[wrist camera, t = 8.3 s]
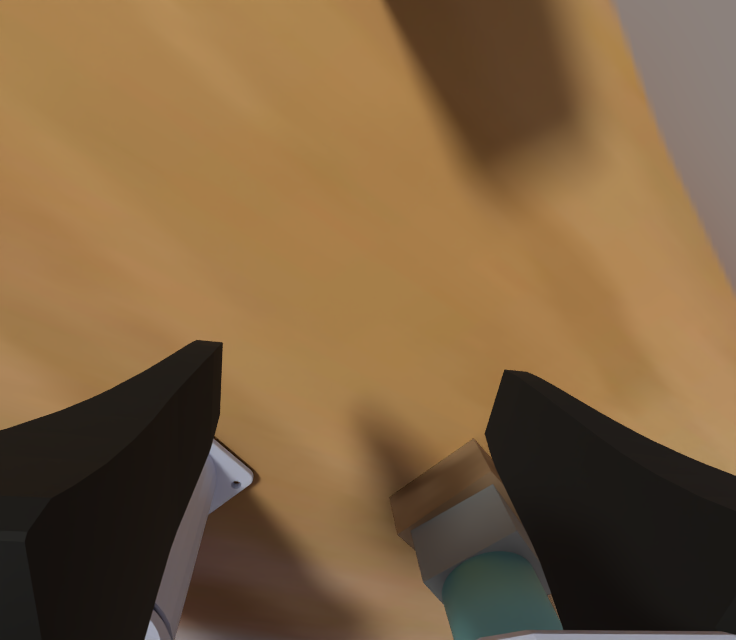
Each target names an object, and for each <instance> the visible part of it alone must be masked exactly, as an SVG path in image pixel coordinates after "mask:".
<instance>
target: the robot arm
mask: <svg viewBox="0 0 736 640" xmlns="http://www.w3.org/2000/svg"><path fill="white" fill-rule="evenodd" d="M222 348H223V343H222V342H212V341H202V340H196V341H194V342H192V343H190V344H188V345H187V346H185V347H183V348H182V349H180V350H178V351H177V352H175V353H174V354H172V355H170V356H169V357H167V358H166V359H164V360H162V361H161V362H159V363H157V364H156V365H154V366H152V367H151V368H149V369H147V370H145V371H144V372H142V373H140V374H138V375H136V376H134V377H132V378H131V379H129V380H127V381H125V382H123V383H121V384H119V385H117V386H115V387H114V388H112V389H110V390H108V391H105V392H103V393H101V394H99V395H97V396H95V397H92V398H90V399H88V400H85V401H83V402H81V403H78V404H76V405H73V406H71V407H68V408H66V409H63V410H61V411H58V412H55V413H52V414H49V415H46V416H43V417H40V418H37V419H34V420H31V421H28V422H25V423H22V424H19V425H16V426H13V427H10V428H7V429H4V430H0V640H175V636H176V633H177V629H178V625H179V622H180V618H181V614H182V610H183V607H184V603H185V599H186V596H187V592H188V588H189V584H190V581H191V577H192V573H193V570H194V566H195V562H196V559H197V555H198V551H199V547H200V544H201V540H202V536H203V533H204V529H205V525H206V522H207V518H208V515H209V514H210V513H212V512H213V511H214V510H216V509H217V508H218V507H220V506H221V505H223V504H224V503H225V502H227V501H228V500H229V499H231V498H232V497H234V496H235V495H236V494H238V493H239V492H240V491H242V490H243V489H245V488H246V487H247V486H249V485H250V484H251V483H252V481H253V476H254V475H253V472H252V471H251V470H250V469H249V468H248V467H247V466H245V465H244V464H243V463H242V462H241V461H240V460H238V459H237V458H236V457H235V456H234V455H232V454H231V453H230V452H229V451H228V450H226V449H225V448H224V447H223V446H222V445H221V444H219V443H218V442H217V441H216V440H215V439H214V435H215V431H216V427H217V423H218V420H219V416H220V398H221V373H222ZM485 436H486V440H487V443H488V447H489V450H490V453H491V456H492V459H493V462H494V465H495V468H496V470H497V472H498V475H499V477H500V479H501V481H502V483H503V485H504V487H505V489H506V492H507V494H508V496H509V498H510V500H511V502H512V504H513V506H514V508H515V510H516V512H517V514H518V516H519V518H520V520H521V522H522V524H523V526H524V528H525V531H526V533H527V535H528V537H529V539H530V541H531V543H532V545H533V547H534V550H535V552H536V554H537V557H538V559H539V561H540V564H541V567H542V569H543V572H544V575H545V578H546V580H547V583H548V586H549V589H550V591H551V594H552V597H553V600H554V603H555V606H556V609H557V612H558V615H559V618H560V621H561V624H562V627H563V630H523V631H517V632H511V633H505V634H499V635H493V636H487V637H481V638H479V639H477V640H736V476H735V475H732V474H729V473H727V472H724V471H722V470H719V469H717V468H714V467H711V466H709V465H706V464H704V463H701V462H699V461H697V460H694V459H692V458H689V457H687V456H685V455H683V454H680V453H678V452H676V451H674V450H672V449H670V448H667V447H665V446H663V445H661V444H659V443H657V442H654V441H652V440H650V439H648V438H646V437H644V436H642V435H640V434H638V433H637V432H635V431H633V430H631V429H629V428H627V427H625V426H623V425H622V424H620V423H618V422H616V421H614V420H612V419H611V418H609V417H607V416H605V415H604V414H602V413H600V412H598V411H597V410H595V409H593V408H591V407H590V406H588V405H586V404H585V403H583V402H581V401H579V400H578V399H576V398H574V397H573V396H571V395H569V394H568V393H566V392H564V391H562V390H561V389H559V388H557V387H556V386H554V385H552V384H550V383H549V382H547V381H545V380H543V379H541V378H539V377H537V376H535V375H533V374H531V373H528V372H524V371H513V370H504V373H503V376H502V379H501V383H500V386H499V389H498V392H497V396H496V399H495V402H494V405H493V409H492V412H491V415H490V418H489V422H488V425H487V428H486V431H485ZM234 481H238V482H240V483H239V484H235V483H233V482H234Z"/></svg>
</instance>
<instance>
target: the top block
mask: <svg viewBox="0 0 736 640" xmlns="http://www.w3.org/2000/svg"><path fill="white" fill-rule="evenodd" d="M411 535H412V539H413V543H414V547H415V551H416V555H417V559H418V563H419V567H420V571H421V575H422V579H423V583H424V584H425V585H426V586H427V587H428V588H429V589H430V590H431V591H432V592H433V594H434V595H435V596H436V597H437V598H438V599H439V600H440V601H441V602H442V603H443V599H442V588H443V585H444V582H445V580H446V578H447V577H448V576H449V574H450V573H451V572H452V571H453V570H454V569H455V568H456V567H457V566H458V565H460V564H461V563H463V562H464V561H466V560H468V559H470V558H472V557H474V556H477V555H480V554H483V553H487V552H494V551H505V552H512V553H515V554H518V555H520V556H522V557H524V558H525V559H526V560H528V561H529V563H530V564H531V565H532V567H533V569H534V571H535V573H536V575H537V577H538V579H539V581H540V583H541V585H542V587H543V589H544V591H545V592H546V594H547V595H549V594H551V591H550V589H549V586H548V583H547V580H546V578H545V575H544V572H543V569H542V567H541V564H540V561H539V559H538V557H537V554H536V552H535V550H534V547H533V545H532V543H531V541H530V539H529V537H528V535H527V533H526V531H525V529H524V527H523V526H522V524H521V523H520V522H519V520H518V519H517V517H516V516H515V514H514V513H513V512H512V510H511V509H510V507H509V506H508V505H507V503H506V502H505V500H504V499H503V497H502V496H501V495H500V493H499V492H498V490H497V489H496V488H495V486H494V485H493V484H492V485H490V486H488V487H487V488H485V489H483V490H481V491H480V492H478V493H476V494H474V495H473V496H471V497H469V498H467V499H466V500H464V501H462V502H460V503H459V504H457V505H455V506H453V507H452V508H450V509H448V510H446V511H445V512H443V513H441V514H439V515H438V516H436V517H434V518H432V519H430V520H429V521H427V522H425V523H423V524H422V525H420V526H418V527H416V528H415V529H413V530H411ZM443 604H444V603H443Z"/></svg>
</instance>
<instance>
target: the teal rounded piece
mask: <svg viewBox="0 0 736 640" xmlns="http://www.w3.org/2000/svg"><path fill="white" fill-rule="evenodd" d="M442 599H443V603H444V607H445V610H446V614H447V617H448V621H449V624H450V628H451V631H452V635H453V638H454V640H477V639H479V638H481V637H487V636H493V635H499V634H505V633H511V632H517V631H523V630H563V627H562V624H561V622H560V620H559V618H558V616H557V614H556V612H555V610H554V608H553V606H552V604H551V602H550V600H549V598H548V596H547V594H546V592H545V591H544V589H543V587H542V585H541V583H540V581H539V579H538V577H537V575H536V573H535V571H534V569H533V567H532V565H531V564H530V563H529V561H528V560H526V559H525V558H524V557H522V556H520V555H518V554H515V553H512V552H505V551H494V552H487V553H483V554H480V555H477V556H474V557H472V558H470V559H468V560H466V561H464V562H463V563H461V564H460V565H458V566H457V567H456V568H455V569H454V570H453V571H452V572H451V573H450V574H449V576H448V577H447V578H446V580H445V582H444V585H443V588H442Z"/></svg>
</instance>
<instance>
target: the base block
mask: <svg viewBox="0 0 736 640" xmlns="http://www.w3.org/2000/svg"><path fill="white" fill-rule="evenodd" d="M492 484H493V485H494V486H495V488H496V489H497V490H498V492H499V493H500V495H501V496H502V497H503V499H504V500H505V502H506V503H507V505H508V506H509V507H510V509H511V510H512V512H513V513H514V514H515V516H516V517H517V519H518V520H519V522H520V523H521V524H522V522H521V520H520V518H519V516H518V514H517V512H516V510H515V508H514V506H513V504H512V502H511V500H510V498H509V496H508V494H507V492H506V489H505V487H504V485H503V483H502V481H501V479H500V477H499V475H498V472H497V470H496V468H495V465H494V462H493V459H492V458H491V457H490V456H489V455H488V454H487V453H486V452H485V450H484V449H483V448H482V447H481V446H480V445H479V444H478V443H477V441H476V440H475V439H474V438H473V439H472V440H470V441H469V442H468V443H466V444H465V445H463V446H462V447H460V448H459V449H458V450H456V451H455V452H453V453H452V454H450V455H449V456H448V457H446V458H445V459H443V460H442V461H440V462H439V463H438V464H436V465H435V466H433V467H432V468H430V469H429V470H428V471H426V472H425V473H423V474H422V475H420V476H419V477H418V478H416V479H415V480H413V481H412V482H410V483H409V484H408V485H406V486H405V487H403V488H402V489H400V490H399V491H398V492H396V493H395V494H393V495H392V496H390V502H391V507H392V511H393V516H394V521H395V526H396V530H397V535H398V536H400V537H401V538H402V539H403V540H404V541H405V542H406V543H407V544H409V545H410V546H411V547H412V548H413V549H414V550H415V547H414V543H413V539H412V535H411V530H413V529H415V528H416V527H418V526H420V525H422V524H423V523H425V522H427V521H429V520H430V519H432V518H434V517H436V516H438V515H439V514H441V513H443V512H445V511H446V510H448V509H450V508H452V507H453V506H455V505H457V504H459V503H460V502H462V501H464V500H466V499H467V498H469V497H471V496H473V495H474V494H476V493H478V492H480V491H481V490H483V489H485V488H487V487H488V486H490V485H492ZM522 526H523V524H522ZM523 527H524V526H523ZM524 529H525V528H524Z"/></svg>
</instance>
